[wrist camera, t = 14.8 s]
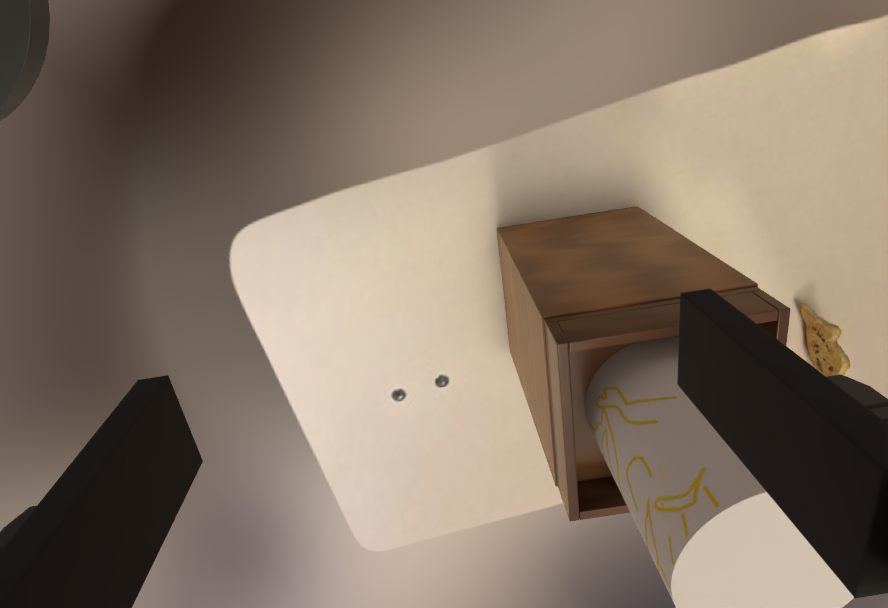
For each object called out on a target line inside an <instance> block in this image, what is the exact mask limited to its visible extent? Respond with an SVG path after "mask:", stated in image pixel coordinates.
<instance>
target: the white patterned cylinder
mask: <svg viewBox="0 0 888 608" xmlns="http://www.w3.org/2000/svg"><path fill="white" fill-rule="evenodd" d="M678 352H679V337H667V338H660V339H654V340H647V341H641V342H635V343H633V344H631V345H629V346H627V347H625V348H623V349H621V350H620V351H618V352H617V353H615V354H614V355H613V356H611V357H610V358H609V359H608V360H607V361H606V362H605V363H604V364H603V365H602V366H601V367H600V368H599V370H598V371H597V372H596V374H595V375H594V377H593V378H592V380H591V382H590V385H589V387H588V390H587V393H586V397H585V416H586V420H587V423H588V426H589V428H590V430H591V432H592V434H593V436H594V438H595V440H596V442H597V444H598V447H599V449H600V451H601V453H602V455H603V457H604V459H605V461H606V463H607V465H608V467H609V469H610V471H611V473H612V476H613V478H614V480H615V482H616V484H617V486H618V488H619V490H620V492H621V494H622V496H623V498H624V500H625V503H626V505H627V507H628V509H629V511H630V513H631V515H632V517H633V519H634V521H635V523H636V525H637V527H638V530H639V532H640V534H641V536H642V538H643V540H644V542H645V544H646V546H647V548H648V550H649V552H650V554H651V556H652V559H653V561H654V563H655V565H656V566H657V569H658V571H659V573H660V575H661V577H662V579H663V581H664V583H665V586H666V587H667V590H668V592H669V594H670V596H671V598H672V600H673V602H674V604H675V606H676V608H842V607H843V606H845V605H846V604H847V603H848V602H849V601H850V600H852V599H853V598H854V596H853V595H852V594H851V593H850V592H849V590H848V589H847V588H846V587H845V586H844V584H843V583H842V582H841V581H840V580H839V578H838V577H837V576H836V575H835V574H834V572H833V571H832V570H831V569H830V568H829V566H828V565H827V564H826V563H825V562H824V560H823V559H822V558H821V557H820V556H819V554H818V553H817V552H816V551H815V550H814V548H813V547H812V546H811V545H810V544H809V542H808V541H807V540H806V539H805V538H804V536H803V535H802V534H801V533H800V532H799V530H798V529H797V528H796V527H795V525H794V524H793V523H792V522H791V521H790V519H789V518H788V517H787V516H786V515H785V513H784V512H783V511H782V510H781V509H780V507H779V506H778V505H777V504H776V503H775V501H774V500H773V499H772V498H771V497H770V495H769V494H768V493H767V492H766V491H765V489H764V488H763V487H762V486H761V485H760V483H759V482H758V481H757V480H756V479H755V477H754V476H753V475H752V474H751V473H750V471H749V470H748V469H747V468H746V467H745V465H744V464H743V463H742V462H741V461H740V459H739V458H738V457H737V456H736V454H735V453H734V452H733V451H732V450H731V448H730V447H729V446H728V445H727V444H726V442H725V441H724V440H723V439H722V438H721V436H720V435H719V434H718V433H717V432H716V430H715V429H714V428H713V427H712V426H711V424H710V423H709V422H708V421H707V420H706V418H705V417H704V416H703V415H702V414H701V412H700V411H699V410H698V409H697V408H696V406H695V405H694V404H693V403H692V402H691V400H690V399H689V398H688V397H687V396H686V394H685V393H684V392H683V391H682V390H681V388H680V387H679V386H678V385H677V382H678Z"/></svg>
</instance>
